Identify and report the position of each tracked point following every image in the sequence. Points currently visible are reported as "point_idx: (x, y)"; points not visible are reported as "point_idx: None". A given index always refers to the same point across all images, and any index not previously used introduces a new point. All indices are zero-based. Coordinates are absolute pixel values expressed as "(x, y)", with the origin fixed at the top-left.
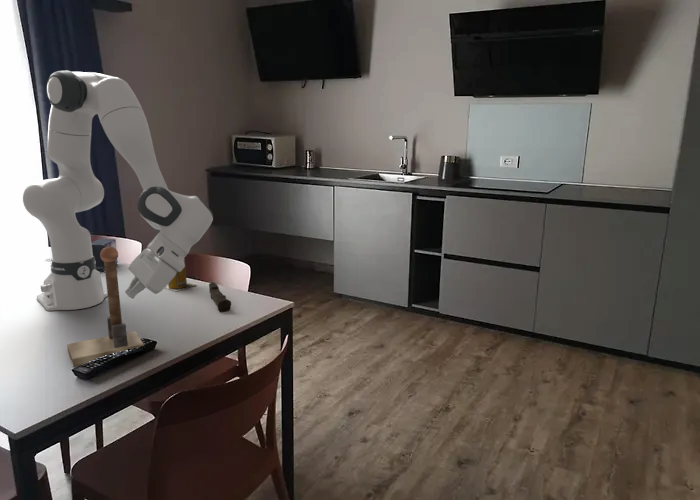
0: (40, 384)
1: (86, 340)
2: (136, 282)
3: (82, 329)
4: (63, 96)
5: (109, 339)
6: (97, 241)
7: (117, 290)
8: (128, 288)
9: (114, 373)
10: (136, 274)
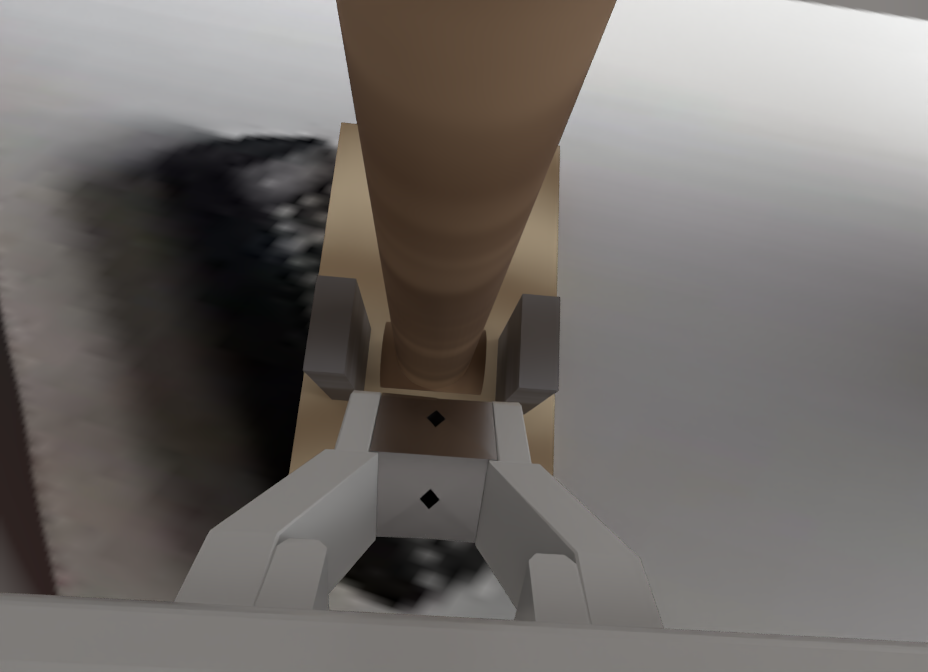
0: (258, 16)
1: (555, 232)
2: (520, 603)
3: (828, 294)
4: None
5: (495, 336)
6: None
7: (386, 239)
8: (497, 440)
9: (131, 274)
10: (497, 661)
